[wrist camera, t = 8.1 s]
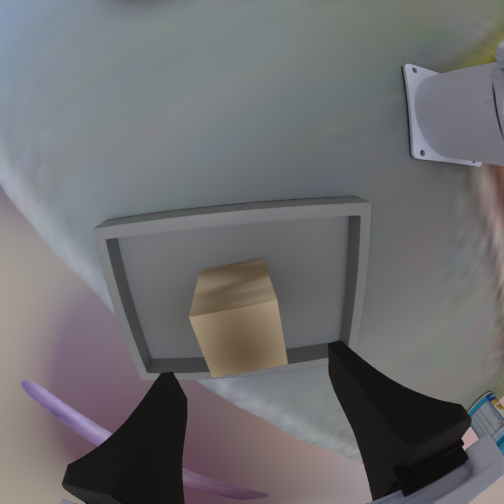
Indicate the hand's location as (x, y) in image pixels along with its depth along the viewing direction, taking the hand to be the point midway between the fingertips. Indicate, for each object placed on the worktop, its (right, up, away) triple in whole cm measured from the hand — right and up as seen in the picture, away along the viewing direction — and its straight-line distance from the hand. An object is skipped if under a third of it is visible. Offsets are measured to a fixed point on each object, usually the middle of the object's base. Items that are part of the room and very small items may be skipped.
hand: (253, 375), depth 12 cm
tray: (-1, +3, +9) cm, 9 cm away
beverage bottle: (+48, -27, +24) cm, 60 cm away
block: (-1, +3, +8) cm, 9 cm away
